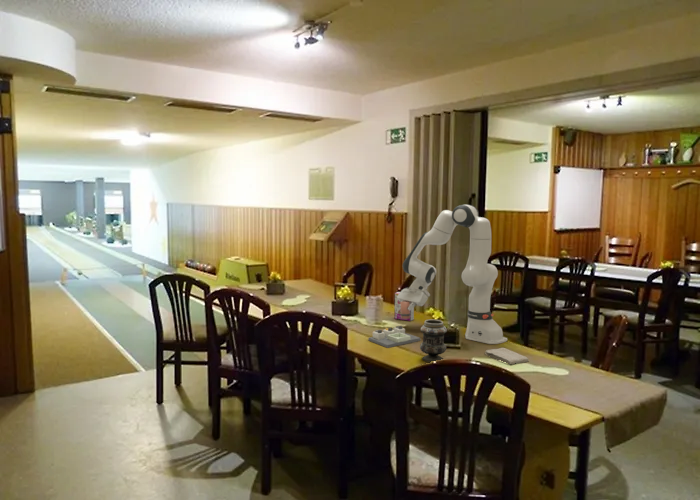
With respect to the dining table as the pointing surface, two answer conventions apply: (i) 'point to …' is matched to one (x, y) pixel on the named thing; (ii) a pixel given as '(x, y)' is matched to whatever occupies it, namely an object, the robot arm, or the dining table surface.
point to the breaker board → (392, 337)
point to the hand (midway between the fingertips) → (404, 308)
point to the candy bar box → (398, 310)
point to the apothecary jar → (433, 340)
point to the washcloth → (506, 356)
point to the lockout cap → (405, 310)
